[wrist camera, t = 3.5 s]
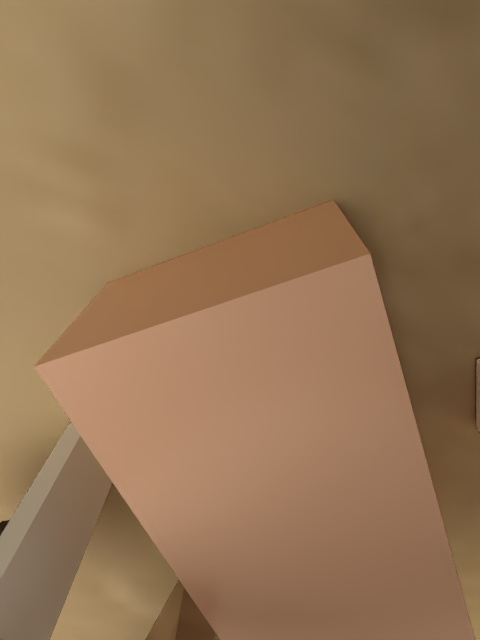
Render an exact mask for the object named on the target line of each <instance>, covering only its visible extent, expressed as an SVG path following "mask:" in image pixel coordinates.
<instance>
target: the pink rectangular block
mask: <svg viewBox="0 0 480 640" xmlns="http://www.w3.org/2000/svg"><path fill="white" fill-rule="evenodd" d="M34 368H35V370H36V371H37V373H38V374H39V376H40V377H41V379H42V380H43V381H44V383H45V384H46V386H47V387H48V389H49V390H50V392H51V393H52V395H53V396H54V398H55V399H56V400H57V402H58V403H59V405H60V406H61V408H62V409H63V411H64V412H65V414H66V415H67V417H68V418H69V420H70V421H71V422H72V424H73V425H74V427H75V428H76V430H77V431H78V433H79V434H80V436H81V437H82V439H83V440H84V441H85V443H86V444H87V446H88V447H89V449H90V450H91V452H92V453H93V455H94V456H95V458H96V459H97V460H98V462H99V463H100V465H101V466H102V468H103V469H104V471H105V472H106V474H107V475H108V477H109V478H110V479H111V481H112V482H113V484H114V485H115V487H116V488H117V490H118V491H119V493H120V494H121V496H122V497H123V498H124V500H125V501H126V503H127V504H128V506H129V507H130V509H131V510H132V512H133V513H134V515H135V516H136V517H137V519H138V520H139V522H140V523H141V525H142V526H143V528H144V529H145V531H146V532H147V534H148V535H149V536H150V538H151V539H152V541H153V542H154V544H155V545H156V547H157V548H158V550H159V551H160V553H161V554H162V556H163V557H164V558H165V560H166V561H167V563H168V564H169V566H170V567H171V569H172V570H173V572H174V573H175V575H176V576H177V577H178V579H179V580H180V582H181V583H182V585H183V586H184V588H185V589H186V591H187V592H188V594H189V595H190V596H191V598H192V599H193V601H194V602H195V604H196V605H197V607H198V608H199V610H200V611H201V613H202V614H203V615H204V617H205V618H206V620H207V621H208V623H209V624H210V626H211V627H212V629H213V630H214V632H215V633H216V634H217V636H218V637H219V639H220V640H475V637H474V634H473V630H472V626H471V623H470V619H469V615H468V611H467V608H466V604H465V600H464V597H463V593H462V589H461V586H460V582H459V578H458V575H457V571H456V567H455V564H454V560H453V556H452V553H451V549H450V545H449V542H448V538H447V534H446V530H445V527H444V523H443V519H442V516H441V512H440V508H439V505H438V501H437V497H436V494H435V490H434V486H433V483H432V479H431V475H430V472H429V468H428V464H427V461H426V457H425V453H424V449H423V446H422V442H421V438H420V435H419V431H418V427H417V424H416V420H415V416H414V413H413V409H412V405H411V402H410V398H409V394H408V391H407V387H406V383H405V380H404V376H403V372H402V368H401V365H400V361H399V357H398V354H397V350H396V346H395V343H394V339H393V335H392V332H391V328H390V324H389V321H388V317H387V313H386V310H385V306H384V302H383V299H382V295H381V291H380V288H379V284H378V280H377V276H376V273H375V269H374V265H373V262H372V258H371V254H370V252H369V251H368V249H367V248H366V246H365V245H364V244H363V242H362V241H361V239H360V238H359V236H358V235H357V233H356V232H355V230H354V229H353V227H352V226H351V225H350V223H349V222H348V220H347V219H346V217H345V216H344V214H343V213H342V211H341V210H340V209H339V207H338V206H337V204H336V203H335V201H334V200H331V201H328V202H326V203H323V204H320V205H318V206H315V207H312V208H309V209H307V210H304V211H301V212H299V213H296V214H293V215H290V216H288V217H285V218H282V219H280V220H277V221H274V222H272V223H269V224H266V225H263V226H261V227H258V228H255V229H253V230H250V231H247V232H244V233H242V234H239V235H236V236H234V237H231V238H228V239H225V240H223V241H220V242H217V243H215V244H212V245H209V246H207V247H204V248H201V249H198V250H196V251H193V252H190V253H188V254H185V255H182V256H179V257H177V258H174V259H171V260H169V261H166V262H163V263H160V264H158V265H155V266H152V267H150V268H147V269H144V270H142V271H139V272H136V273H133V274H131V275H128V276H125V277H123V278H120V279H117V280H114V281H112V282H109V283H108V284H107V285H106V286H105V287H104V288H103V289H102V290H101V291H100V293H99V294H98V295H97V296H96V297H95V298H94V299H93V300H92V302H91V303H90V304H89V305H88V306H87V307H86V308H85V309H84V311H83V312H82V313H81V314H80V315H79V316H78V317H77V318H76V320H75V321H74V322H73V323H72V324H71V325H70V326H69V327H68V329H67V330H66V331H65V332H64V333H63V334H62V335H61V336H60V338H59V339H58V340H57V341H56V342H55V343H54V344H53V345H52V347H51V348H50V349H49V350H48V351H47V352H46V353H45V354H44V356H43V357H42V358H41V359H40V360H39V361H38V362H37V363H36V365H35V366H34Z"/></svg>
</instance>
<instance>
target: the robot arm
mask: <svg viewBox="0 0 480 640" xmlns="http://www.w3.org/2000/svg"><path fill="white" fill-rule="evenodd" d="M476 428H477V429H478V431H479V432H480V359H477V365H476ZM112 483H113V482H112V481H111V479H110V478H109V477H108V475H107V474H106V472H105V471H104V469H103V468H102V466H101V465H100V463H99V462H98V460H97V459H96V458H95V456H94V455H93V453H92V452H91V450H90V449H89V447H88V446H87V444H86V443H85V441H84V440H83V439H82V437H81V436H80V434H79V433H78V431H77V430H76V428H75V427H74V425H73V424H72V423H71V424H68V426H67V428H66V429H65V431H64V433H63V434H62V436H61V437H60V439H59V441H58V442H57V444H56V446H55V447H54V449H53V451H52V452H51V454H50V455H49V457H48V459H47V460H46V462H45V464H44V465H43V467H42V469H41V470H40V472H39V473H38V475H37V477H36V478H35V480H34V482H33V483H32V485H31V486H30V488H29V490H28V491H27V493H26V495H25V496H24V498H23V500H22V501H21V503H20V504H19V506H18V508H17V509H16V511H15V513H14V514H13V516H12V518H11V519H10V520H8V521H2V522H1V523H0V640H50V638H51V635H52V633H53V630H54V628H55V625H56V623H57V620H58V618H59V615H60V613H61V610H62V608H63V605H64V603H65V600H66V598H67V595H68V593H69V590H70V588H71V585H72V583H73V580H74V578H75V575H76V573H77V570H78V568H79V565H80V563H81V560H82V558H83V555H84V553H85V550H86V548H87V545H88V543H89V540H90V538H91V535H92V533H93V530H94V528H95V525H96V523H97V520H98V518H99V515H100V513H101V510H102V508H103V505H104V503H105V500H106V498H107V495H108V493H109V490H110V488H111V485H112Z"/></svg>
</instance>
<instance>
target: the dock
mask: <svg viewBox="0 0 480 640" xmlns="http://www.w3.org/2000/svg"><path fill="white" fill-rule="evenodd" d="M214 634H215V632H214V630H213V629H212V627H211V626H210V624H209V623H208V621H207V620H206V618H205V617H204V615H203V614H202V613H201V611H200V610H199V608H198V607H197V605H196V604H195V602H194V601H193V599H192V598H191V596H190V595H189V594H188V592H187V591H186V589H185V588H184V586H183V585H182V583H181V582H180V580H179V581H178V583H177V585H176V587H175V589H174V590H173V592H172V594H171V596H170V597H169V599H168V601H167V603H166V605H165V606H164V608H163V610H162V612H161V613H160V615H159V617H158V619H157V621H156V622H155V624H154V626H153V628H152V629H151V631H150V633H149V635H148V637H147V638H146V640H214Z"/></svg>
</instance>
